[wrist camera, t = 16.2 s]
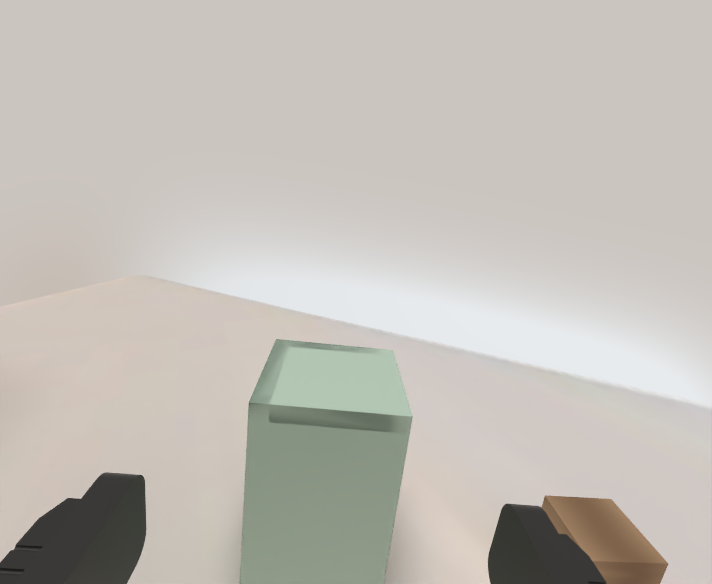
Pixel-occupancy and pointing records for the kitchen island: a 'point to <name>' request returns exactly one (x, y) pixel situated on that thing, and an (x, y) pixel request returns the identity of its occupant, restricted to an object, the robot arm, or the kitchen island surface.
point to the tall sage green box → (323, 465)
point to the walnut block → (607, 539)
